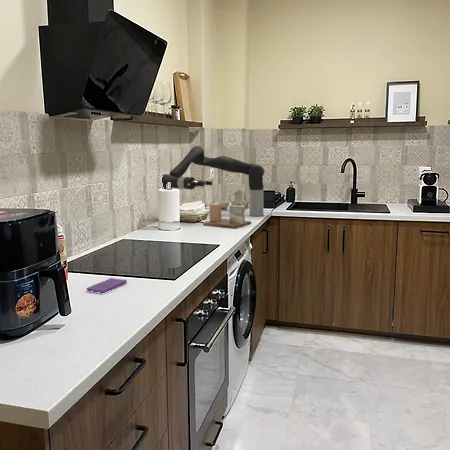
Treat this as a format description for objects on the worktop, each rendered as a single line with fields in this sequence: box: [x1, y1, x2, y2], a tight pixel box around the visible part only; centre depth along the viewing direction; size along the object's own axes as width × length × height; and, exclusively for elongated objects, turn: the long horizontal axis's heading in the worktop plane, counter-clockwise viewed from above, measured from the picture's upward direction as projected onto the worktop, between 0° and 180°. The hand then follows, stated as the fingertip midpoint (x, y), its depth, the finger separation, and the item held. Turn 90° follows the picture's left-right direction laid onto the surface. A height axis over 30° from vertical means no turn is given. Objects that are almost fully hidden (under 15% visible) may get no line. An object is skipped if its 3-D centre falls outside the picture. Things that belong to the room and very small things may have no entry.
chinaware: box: [217, 187, 250, 211], centre depth 335 cm, size 28×17×17 cm, turn 125°
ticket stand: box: [203, 204, 252, 230], centre depth 273 cm, size 18×22×12 cm
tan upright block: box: [209, 203, 222, 221], centre depth 277 cm, size 4×6×10 cm, turn 56°
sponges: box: [86, 277, 128, 294], centre depth 157 cm, size 7×13×2 cm, turn 155°
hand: (207, 183), depth 278 cm, fingers open, 8 cm apart
